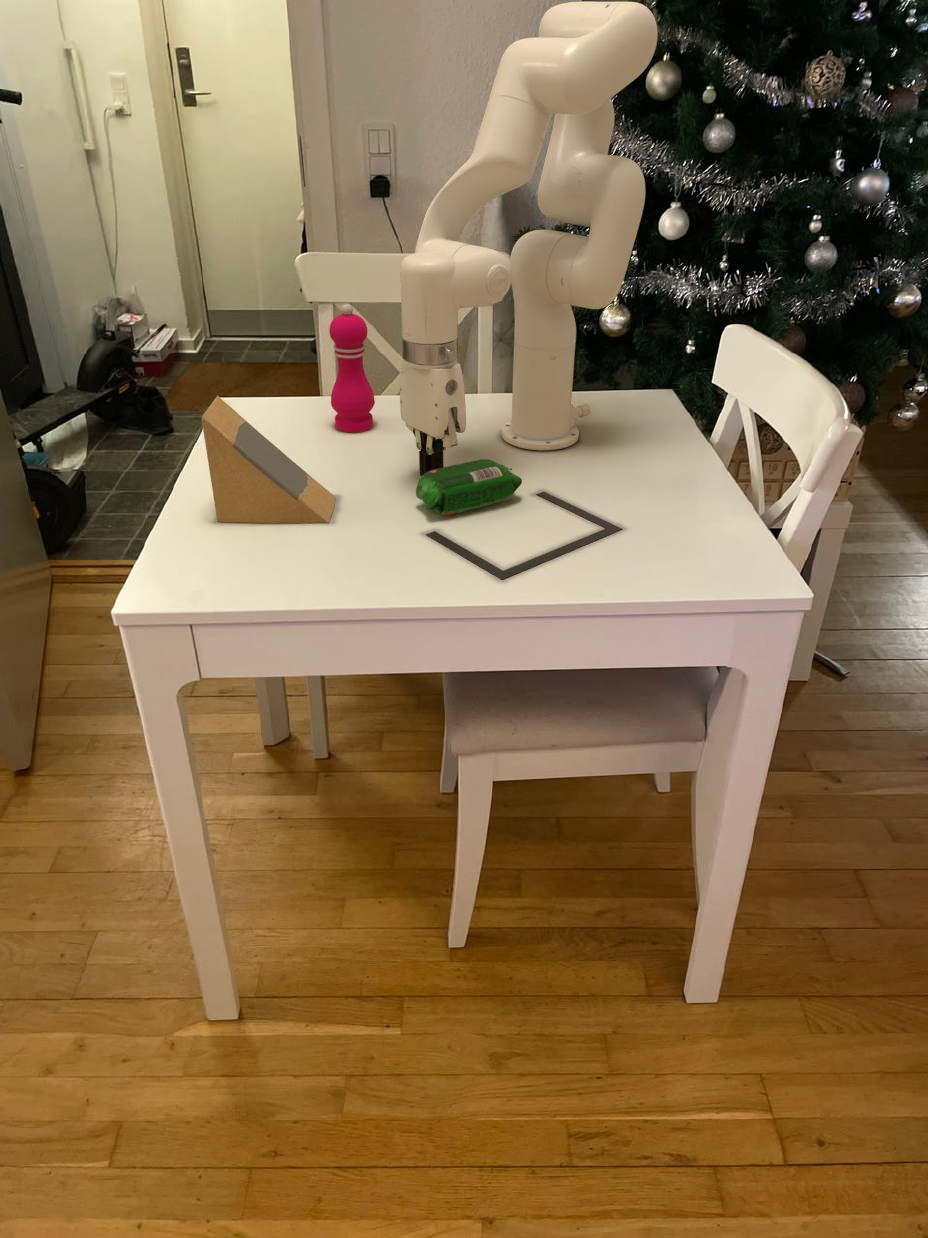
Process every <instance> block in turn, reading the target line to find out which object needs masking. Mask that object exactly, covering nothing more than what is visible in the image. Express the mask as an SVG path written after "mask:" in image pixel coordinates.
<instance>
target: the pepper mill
mask: <svg viewBox="0 0 928 1238" xmlns="http://www.w3.org/2000/svg"><path fill="white" fill-rule="evenodd" d="M353 312H354V308H353V306H352V305H351V304H349V303H344V304H343V305H342V306H341V314H338V315H336V316H335V317H334V318H333V319H332V320H331V322H330V325H329V328H328V329H329V331H328V332H329V333H328V334H329V336H330V339H331V340H332V341H333V343H334V345H333V349H334V352H333V354H334V356H336V359H337V376H336V379H335V382H334V384H333V387H332V389H331V393H330V406H331V408H332V409H333V410H334V412H336V413H337V414H336V415H335V416H334V422H335V423H334V424H335V428H336V430H338V431H340V432H343V433H350V434H351V433H353V434H354V433H355V434H356V433H362V432H366V431H368V430H370V429H372V428H373V426H374V418H373V417H374V416H373V414H372V413H371V411H372V410H373V408H374V406H375V405H376V401H375V400H376V399H375V394H374V390H373V388H372V385H371V384H370V382H369V380H368V379H367V378H368V377H367V376H366V372H365V369H364V356H365V355H366V350H365V349H366V345H365V344H364V343H365V341H366V339H367V337H368V326H367V323H366V322H365V320H364V319H363V318H362V316H361V315H358V314H356V313H353Z"/></svg>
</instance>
